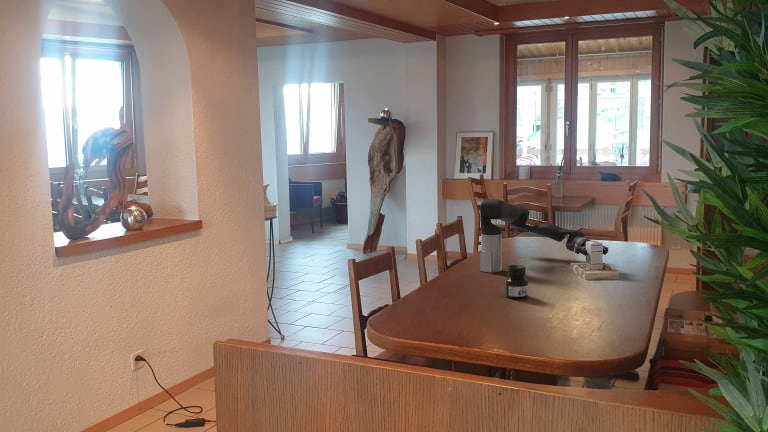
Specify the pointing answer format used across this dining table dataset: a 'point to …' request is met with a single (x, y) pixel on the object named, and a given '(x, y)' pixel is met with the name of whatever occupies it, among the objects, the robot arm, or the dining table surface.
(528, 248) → the dining table surface
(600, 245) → the syrup box
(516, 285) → the ink bottle
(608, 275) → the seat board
